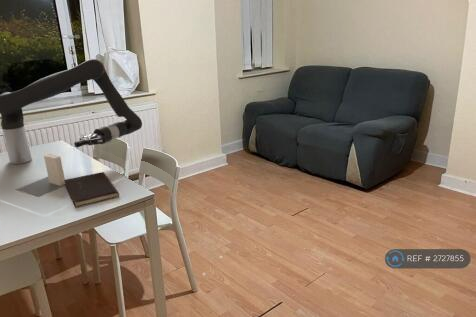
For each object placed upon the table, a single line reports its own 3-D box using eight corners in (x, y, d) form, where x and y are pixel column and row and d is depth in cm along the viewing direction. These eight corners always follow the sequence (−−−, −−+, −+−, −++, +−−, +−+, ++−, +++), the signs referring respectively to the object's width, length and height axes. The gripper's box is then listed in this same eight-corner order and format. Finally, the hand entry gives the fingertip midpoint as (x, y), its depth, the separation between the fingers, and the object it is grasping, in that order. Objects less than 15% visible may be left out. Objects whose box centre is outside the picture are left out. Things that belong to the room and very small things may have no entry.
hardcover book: (75, 207, 138) (74, 202, 137) (65, 185, 156) (64, 179, 155) (119, 197, 146) (118, 191, 145) (104, 176, 164) (104, 171, 163)
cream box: (49, 182, 159) (43, 155, 154) (54, 180, 161) (49, 153, 157) (60, 185, 155) (54, 158, 151) (65, 183, 157) (60, 156, 153)
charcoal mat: (15, 190, 153) (15, 189, 153) (49, 177, 165) (48, 176, 165) (38, 198, 146) (38, 197, 146) (71, 183, 158) (71, 182, 158)
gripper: (95, 124, 179) (63, 134, 165) (115, 127, 172) (84, 138, 158) (98, 139, 181) (67, 151, 167) (118, 143, 175) (87, 155, 161)
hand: (75, 144), depth 163 cm, fingers closed
